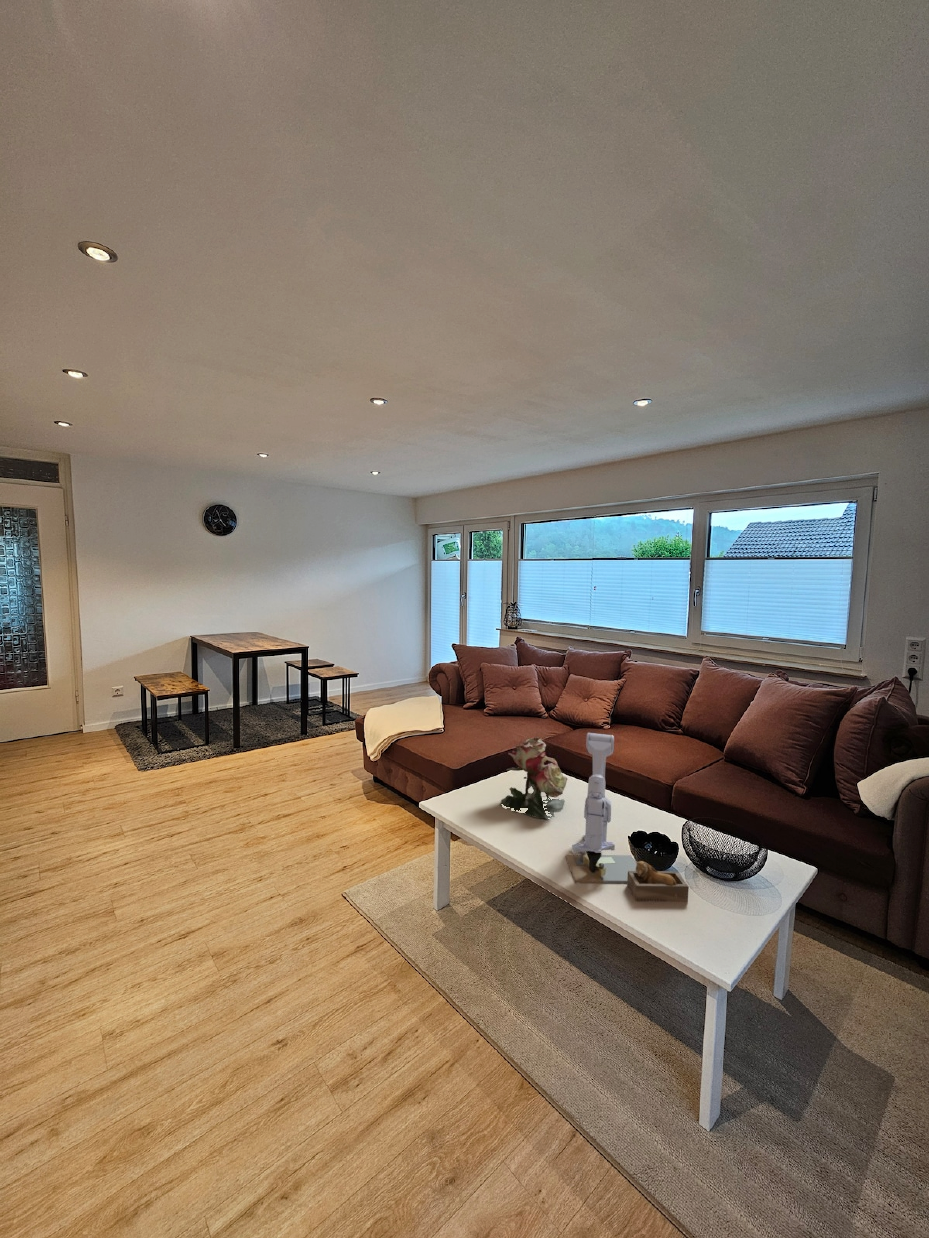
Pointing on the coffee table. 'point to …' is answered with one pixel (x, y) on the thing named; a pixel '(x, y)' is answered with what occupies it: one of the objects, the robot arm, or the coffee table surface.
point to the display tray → (657, 888)
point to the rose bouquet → (536, 780)
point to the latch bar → (599, 866)
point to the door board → (613, 863)
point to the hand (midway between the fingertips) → (592, 870)
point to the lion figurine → (653, 875)
